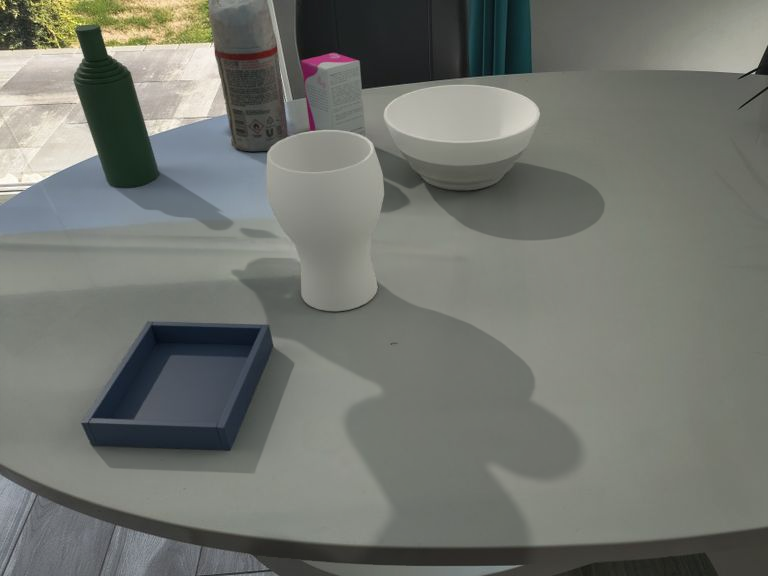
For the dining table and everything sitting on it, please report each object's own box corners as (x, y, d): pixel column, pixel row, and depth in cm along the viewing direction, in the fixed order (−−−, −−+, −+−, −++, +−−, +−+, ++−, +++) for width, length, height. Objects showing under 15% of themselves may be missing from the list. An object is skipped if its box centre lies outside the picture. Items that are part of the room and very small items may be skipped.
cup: (375, 326, 70) (360, 180, 60) (270, 314, 71) (240, 171, 62) (403, 267, 78) (393, 131, 69) (308, 258, 80) (286, 124, 70)
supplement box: (368, 142, 104) (360, 59, 97) (334, 155, 101) (324, 70, 93) (343, 131, 107) (334, 50, 100) (309, 143, 104) (298, 60, 97)
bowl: (558, 159, 99) (563, 98, 94) (496, 221, 86) (498, 154, 81) (434, 133, 106) (432, 76, 101) (358, 187, 93) (352, 124, 88)
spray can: (301, 133, 107) (279, -17, 94) (277, 156, 100) (250, -2, 88) (248, 128, 108) (219, -21, 96) (221, 150, 102) (186, -5, 89)
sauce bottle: (114, 192, 92) (63, 38, 80) (101, 174, 96) (51, 25, 85) (165, 179, 95) (123, 28, 83) (150, 162, 99) (108, 16, 87)
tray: (90, 445, 58) (80, 422, 56) (154, 342, 68) (147, 320, 66) (230, 450, 57) (224, 427, 56) (273, 346, 68) (269, 324, 66)
